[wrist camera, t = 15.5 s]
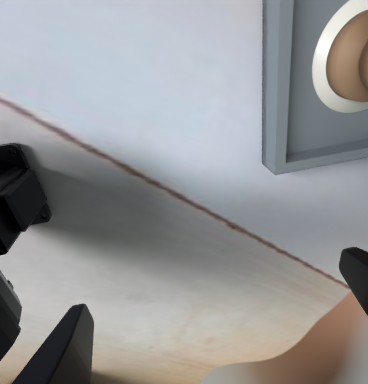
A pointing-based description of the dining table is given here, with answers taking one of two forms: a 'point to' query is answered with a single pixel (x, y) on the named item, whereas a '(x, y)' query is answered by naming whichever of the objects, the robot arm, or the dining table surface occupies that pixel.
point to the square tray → (307, 88)
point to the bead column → (350, 60)
